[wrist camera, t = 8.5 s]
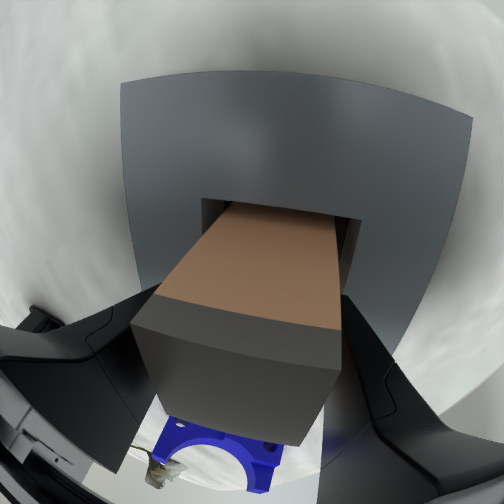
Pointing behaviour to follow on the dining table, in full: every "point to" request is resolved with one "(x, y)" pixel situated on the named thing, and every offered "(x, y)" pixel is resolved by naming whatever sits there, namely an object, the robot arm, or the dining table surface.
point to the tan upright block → (248, 325)
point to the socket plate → (297, 173)
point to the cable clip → (244, 449)
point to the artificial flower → (161, 471)
